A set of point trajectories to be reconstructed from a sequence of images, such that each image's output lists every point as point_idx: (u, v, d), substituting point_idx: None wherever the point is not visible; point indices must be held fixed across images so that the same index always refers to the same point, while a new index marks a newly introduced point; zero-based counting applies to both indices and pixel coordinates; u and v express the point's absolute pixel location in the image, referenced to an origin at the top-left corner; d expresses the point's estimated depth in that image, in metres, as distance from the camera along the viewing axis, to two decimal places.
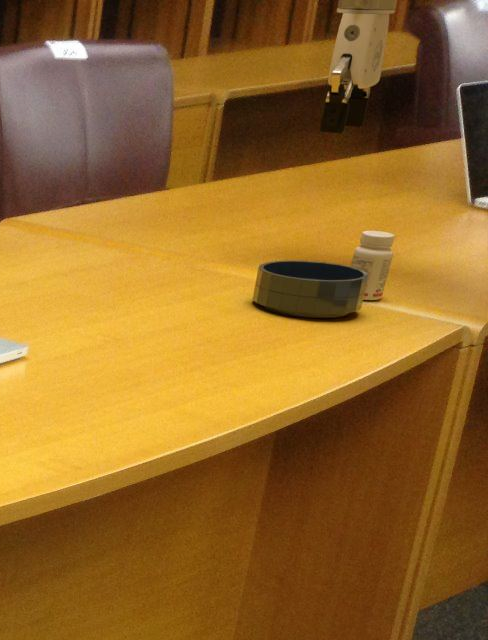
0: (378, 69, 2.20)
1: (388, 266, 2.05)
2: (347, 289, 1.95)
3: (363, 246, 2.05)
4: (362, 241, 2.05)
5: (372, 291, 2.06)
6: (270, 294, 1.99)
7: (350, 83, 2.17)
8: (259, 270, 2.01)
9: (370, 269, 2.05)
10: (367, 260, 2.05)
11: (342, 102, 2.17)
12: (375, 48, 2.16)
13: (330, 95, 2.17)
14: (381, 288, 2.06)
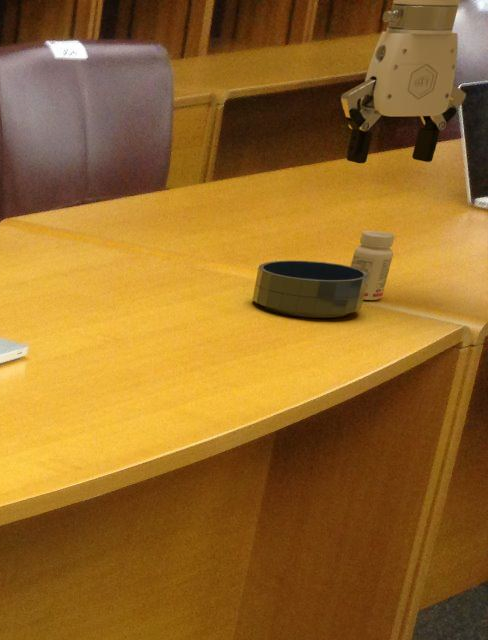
0: (433, 97, 1.96)
1: (388, 266, 2.05)
2: (347, 289, 1.95)
3: (363, 246, 2.05)
4: (362, 241, 2.05)
5: (372, 291, 2.06)
6: (270, 294, 1.99)
7: (375, 109, 1.97)
8: (259, 270, 2.01)
9: (370, 269, 2.05)
10: (367, 260, 2.05)
11: (360, 129, 1.98)
12: (411, 72, 1.94)
13: (347, 120, 1.99)
14: (381, 288, 2.06)
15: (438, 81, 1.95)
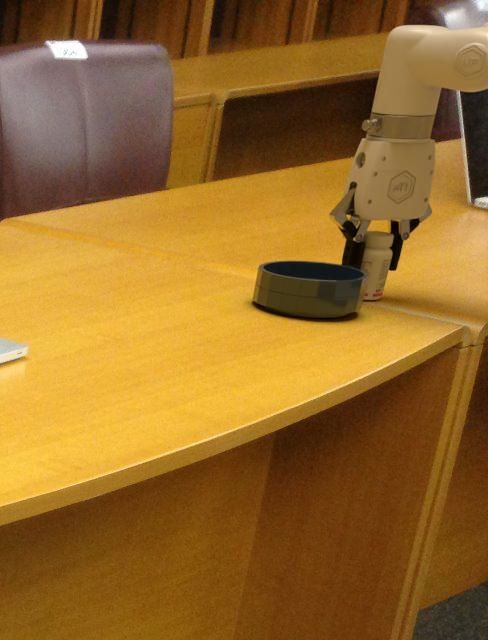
0: (412, 202, 2.01)
1: (388, 266, 2.05)
2: (347, 289, 1.95)
3: None
4: None
5: (372, 291, 2.06)
6: (270, 294, 1.99)
7: (362, 220, 2.02)
8: (259, 270, 2.01)
9: (369, 269, 2.05)
10: (367, 260, 2.05)
11: (355, 241, 2.04)
12: (390, 179, 1.99)
13: (341, 231, 2.05)
14: (381, 288, 2.06)
15: (417, 186, 2.00)
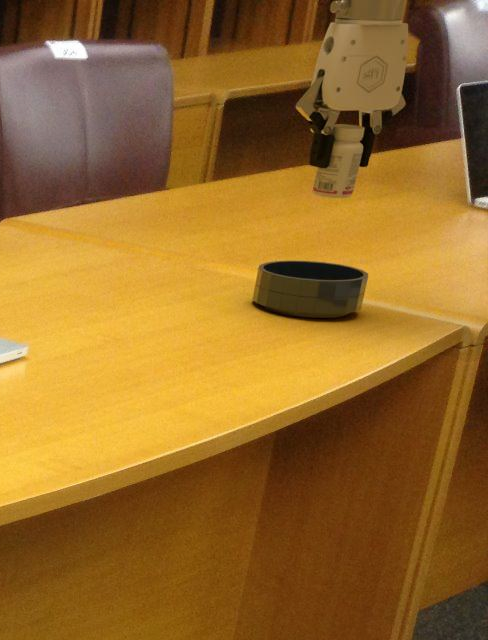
0: (384, 90, 1.88)
1: (358, 161, 1.93)
2: (347, 289, 1.95)
3: None
4: None
5: (341, 188, 1.94)
6: (270, 294, 1.99)
7: (330, 110, 1.90)
8: (259, 270, 2.01)
9: (338, 164, 1.92)
10: (336, 155, 1.92)
11: (323, 134, 1.91)
12: (360, 65, 1.86)
13: (309, 124, 1.92)
14: (351, 185, 1.94)
15: (389, 73, 1.88)
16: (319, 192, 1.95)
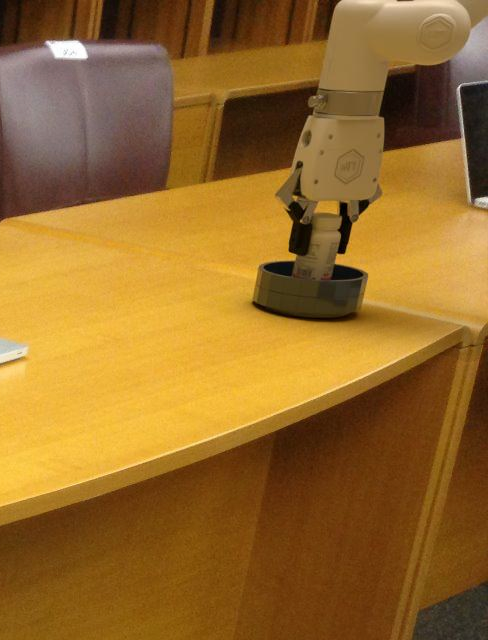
0: (361, 182, 1.93)
1: (336, 249, 1.97)
2: (347, 289, 1.95)
3: None
4: (309, 223, 1.97)
5: (319, 275, 1.98)
6: (270, 294, 1.99)
7: (308, 201, 1.94)
8: (259, 270, 2.01)
9: (317, 252, 1.97)
10: (314, 243, 1.97)
11: (301, 223, 1.96)
12: (337, 158, 1.91)
13: (288, 213, 1.96)
14: (329, 272, 1.98)
15: (365, 166, 1.92)
16: None
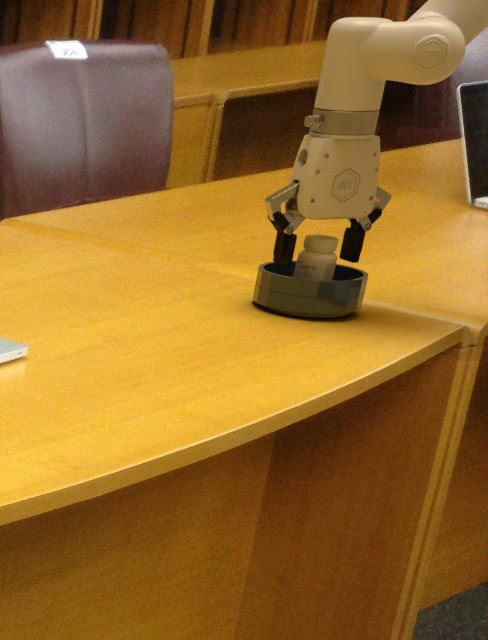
0: (357, 200, 1.94)
1: (332, 271, 1.98)
2: (347, 289, 1.95)
3: (307, 250, 1.98)
4: (305, 245, 1.98)
5: None
6: (270, 294, 1.99)
7: (299, 212, 1.95)
8: (259, 270, 2.01)
9: (313, 274, 1.98)
10: (310, 265, 1.98)
11: (284, 232, 1.96)
12: (333, 176, 1.92)
13: (272, 223, 1.97)
14: None
15: (361, 184, 1.93)
16: None
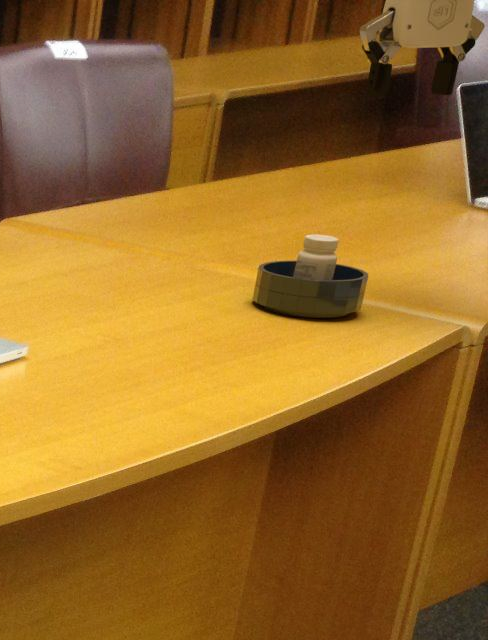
0: (453, 27, 1.91)
1: (332, 271, 1.98)
2: (347, 289, 1.95)
3: (307, 250, 1.98)
4: (305, 245, 1.98)
5: None
6: (270, 294, 1.99)
7: (394, 41, 1.92)
8: (259, 270, 2.01)
9: (313, 274, 1.98)
10: (310, 265, 1.98)
11: (379, 62, 1.93)
12: (430, 2, 1.89)
13: (366, 54, 1.94)
14: None
15: (458, 10, 1.91)
16: None
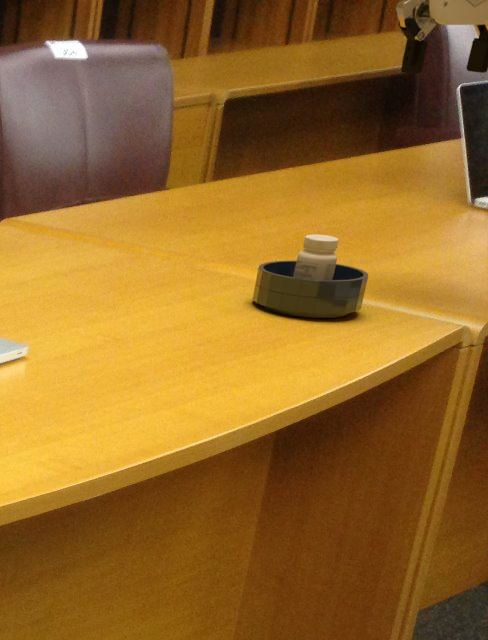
0: None
1: (332, 271, 1.98)
2: (347, 289, 1.95)
3: (307, 250, 1.98)
4: (305, 245, 1.98)
5: None
6: (270, 294, 1.99)
7: (430, 18, 1.95)
8: (259, 270, 2.01)
9: (313, 274, 1.98)
10: (310, 265, 1.98)
11: (415, 39, 1.96)
12: None
13: (402, 30, 1.97)
14: None
15: None
16: None
